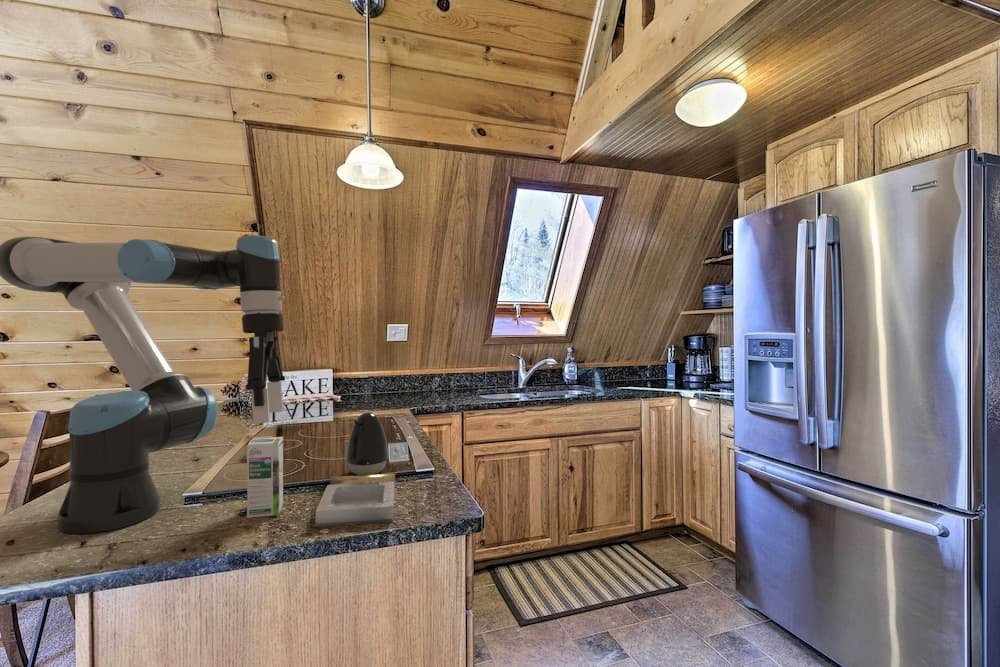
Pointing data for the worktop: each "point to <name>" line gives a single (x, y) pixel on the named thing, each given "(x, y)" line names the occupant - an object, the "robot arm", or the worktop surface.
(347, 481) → the brass rod
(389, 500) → the collar
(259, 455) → the syrup box
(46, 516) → the worktop surface
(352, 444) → the black egg shape
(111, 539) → the worktop surface
